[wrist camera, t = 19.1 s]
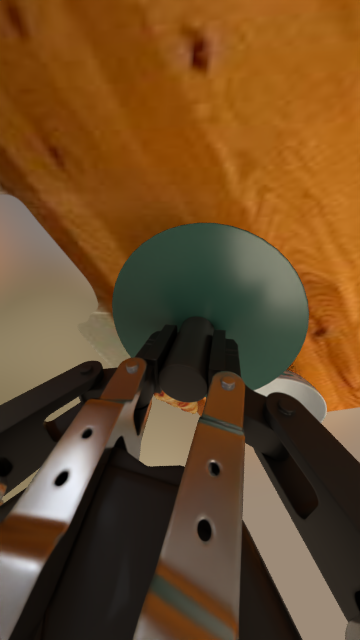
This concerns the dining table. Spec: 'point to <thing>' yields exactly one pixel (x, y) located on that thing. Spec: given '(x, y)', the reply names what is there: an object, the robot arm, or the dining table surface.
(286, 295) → the lid
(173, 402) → the croissant
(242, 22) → the dining table surface
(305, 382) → the chinaware
